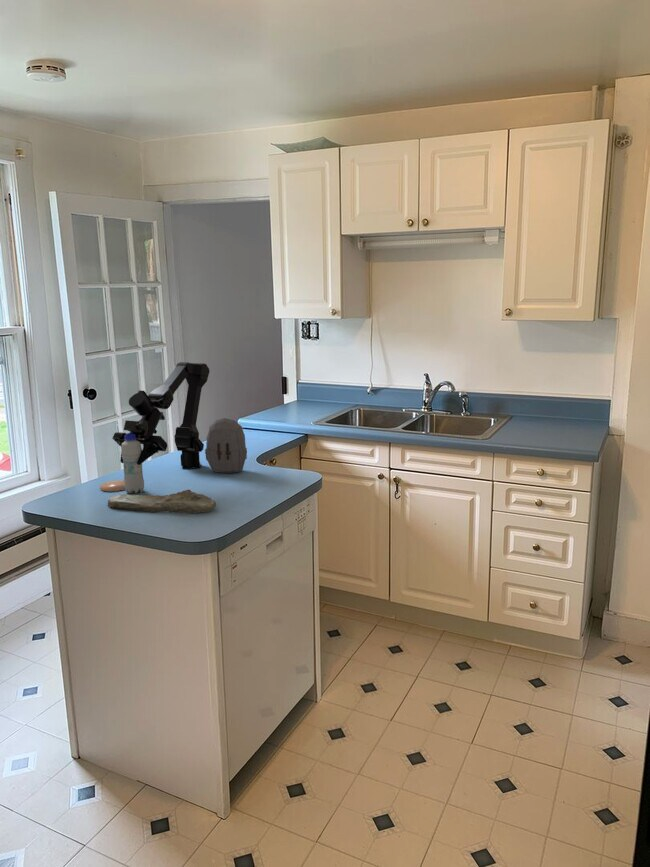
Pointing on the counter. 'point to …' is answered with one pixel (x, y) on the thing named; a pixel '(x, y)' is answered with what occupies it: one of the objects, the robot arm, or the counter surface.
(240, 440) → the soft grey pack
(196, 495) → the long grey stone
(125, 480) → the bottle
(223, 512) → the counter surface
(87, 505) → the counter surface
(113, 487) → the peach round piece
